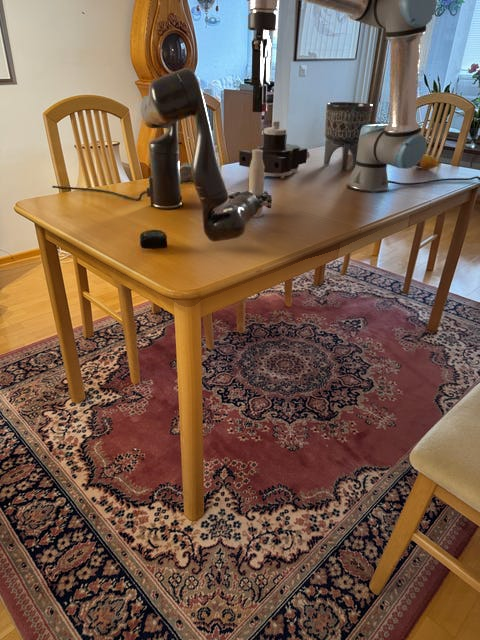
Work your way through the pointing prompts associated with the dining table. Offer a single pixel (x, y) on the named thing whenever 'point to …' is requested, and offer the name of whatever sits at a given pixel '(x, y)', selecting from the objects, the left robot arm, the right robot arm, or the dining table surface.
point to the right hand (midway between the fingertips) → (259, 111)
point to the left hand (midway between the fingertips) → (257, 193)
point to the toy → (427, 162)
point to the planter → (345, 128)
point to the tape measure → (153, 239)
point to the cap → (263, 107)
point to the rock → (185, 173)
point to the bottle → (256, 176)
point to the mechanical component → (277, 153)
